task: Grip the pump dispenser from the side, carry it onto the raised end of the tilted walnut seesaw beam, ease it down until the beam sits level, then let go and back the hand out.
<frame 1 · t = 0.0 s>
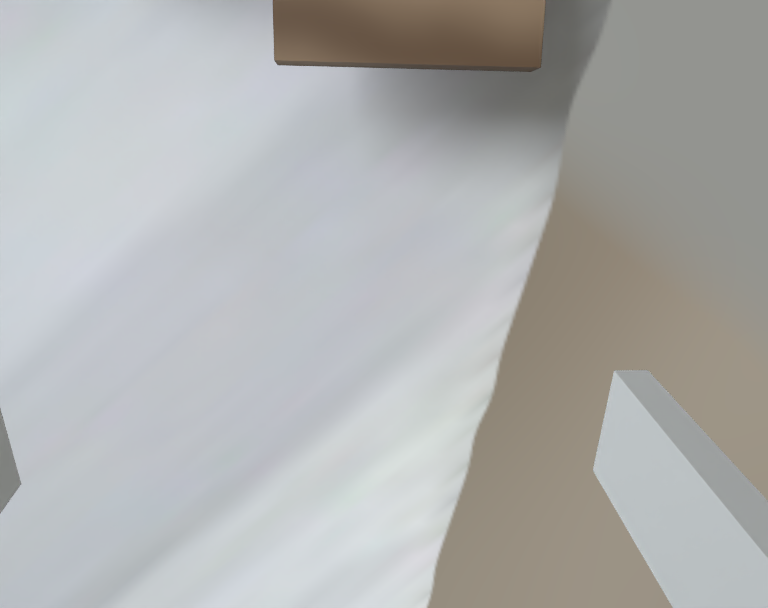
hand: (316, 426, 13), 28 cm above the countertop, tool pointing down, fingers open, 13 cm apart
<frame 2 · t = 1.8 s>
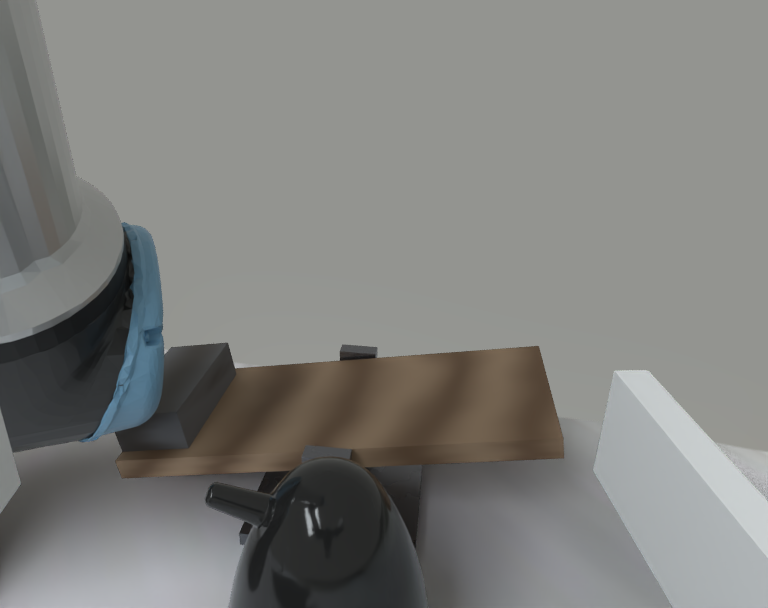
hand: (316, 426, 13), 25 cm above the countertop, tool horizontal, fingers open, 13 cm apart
pivot stand: (344, 479, 48), on the countertop
balance beam: (339, 390, 44), point 8 cm above the countertop, hinge at -10.0°
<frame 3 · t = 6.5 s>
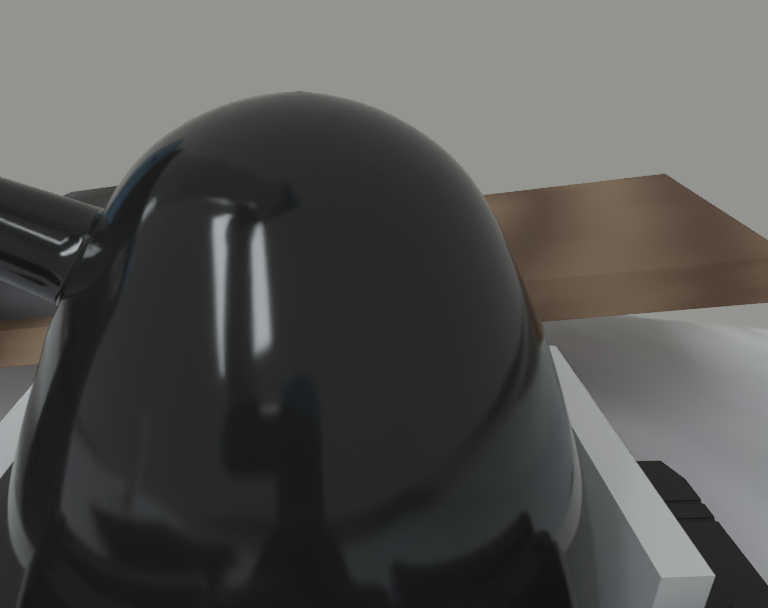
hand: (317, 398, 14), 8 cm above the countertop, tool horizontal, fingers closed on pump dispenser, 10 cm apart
balance beam: (339, 229, 26), point 8 cm above the countertop, hinge at -10.0°
when the fingers open (16 cm above the countertop, at t = 12.0 s): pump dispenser stays where it is, resting on balance beam.
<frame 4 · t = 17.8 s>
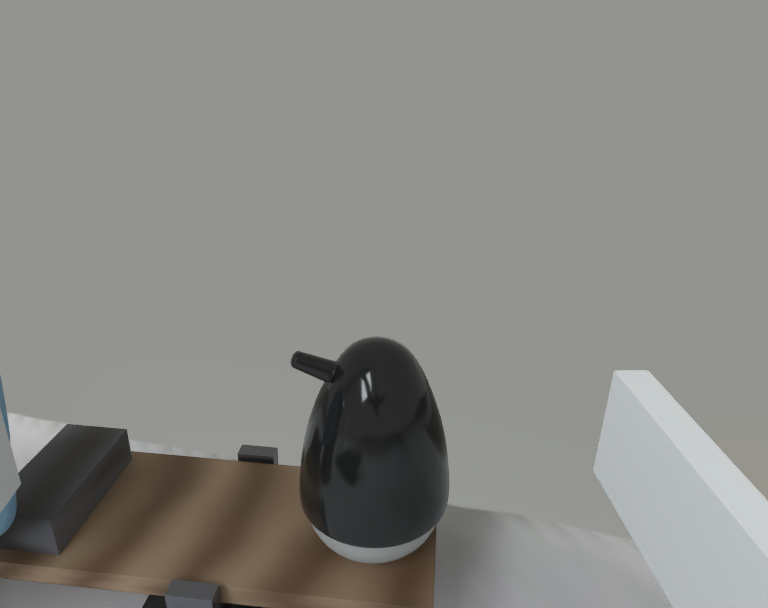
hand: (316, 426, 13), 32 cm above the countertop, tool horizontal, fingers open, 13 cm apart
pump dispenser: (371, 532, 43), point 7 cm above the countertop, touching balance beam
pivot stand: (237, 589, 47), on the countertop
balance beam: (229, 507, 44), point 8 cm above the countertop, hinge at -0.2°, touching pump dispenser
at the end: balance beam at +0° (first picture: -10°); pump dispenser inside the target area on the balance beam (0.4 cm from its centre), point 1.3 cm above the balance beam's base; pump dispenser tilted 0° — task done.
